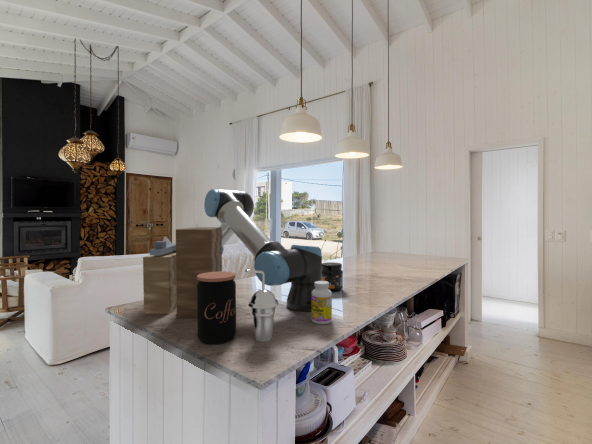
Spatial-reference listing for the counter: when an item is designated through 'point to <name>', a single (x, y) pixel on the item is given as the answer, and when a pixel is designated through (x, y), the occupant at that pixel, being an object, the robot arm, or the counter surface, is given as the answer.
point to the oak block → (159, 283)
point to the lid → (162, 248)
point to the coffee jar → (216, 307)
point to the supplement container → (333, 275)
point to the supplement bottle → (321, 303)
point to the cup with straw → (263, 311)
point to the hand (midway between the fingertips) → (170, 239)
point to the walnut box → (195, 264)
